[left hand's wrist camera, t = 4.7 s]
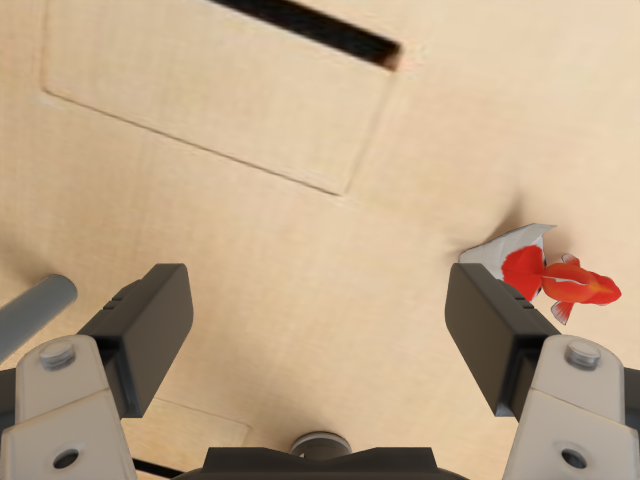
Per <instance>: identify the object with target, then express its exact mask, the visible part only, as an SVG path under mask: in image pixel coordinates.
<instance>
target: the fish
mask: <svg viewBox="0 0 640 480" xmlns="http://www.w3.org/2000/svg"><path fill="white" fill-rule="evenodd" d="M553 227H556V226H555V225H544V224H530V225H527V226H524V227H521V228H518V229H515V230H512V231H509V232H507V233H505V234H503V235H501V236H499V237H497V238H495V239H493V240H491V241H489V242H487V243H486V244H484V245H481V246H477V247H474V248H472V249H469V250H467V251H465V252H463V253H462V254H460V255H459V259H458V263H481V264H482V265H483V266H484V267H485V268H486V269H487V270H488V271H489V272H490V273H491V274H492V275H493V276H494V277H495V278H496V279H500V280H502V281H504V282H506V283H508V284H509V285H511V286H513V287H515V288H516V289H517V290H518V291H519V292H520V293H521V294H522V295H523V296H524V297H525V299H526V300H528V301H529V302H530V303H532V302H533V300H534V299H535V298H536V296H537V295H538V293H539V292H540V291H541V289H542V287H543V290H544V292H545V293H546V294H547V295H548V296H549V297H551V298H553V299H555V300H557V301H558V302H556V303H555V304H554V305H553V306H552V307H551V311H552V313H553V315H554V316H555V318H556V319H557V320H558V321H559V322H561V323H562V324H564V325H566V322H567V321H568V318H569V315H570V313H571V310H572V307H573V305H574V303H575V302H579V303H582V304H589V303H592V304H597V305H600V306H605V305H608V304H609V303H611V302H613V301H616V300H617V299H618V298H619V297H620V296H621V295H622V294H621V292H620V289H619V288H618V287H617V286H616V285H615V283H614V282H613V280H612V279H611V278H609V277H607V276H600V275H598V274H596V273H594V272H590V271H586V270H584V269H583V268H580V261H579V259H578V258H576V257H574V256H573V255H571V254H565V255H564V256H562V260H563V262H564V263H555V264H552V265H550V266H548V267H547V268H546V269H545V267H546V260H545V256H544V252H543V237H542V235H543V234H544V233H545V232H547V231H548V230H550V229H552V228H553Z"/></svg>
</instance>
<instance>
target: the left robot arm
mask: <svg viewBox="0 0 640 480" xmlns="http://www.w3.org/2000/svg"><path fill="white" fill-rule="evenodd" d="M445 321H446V326H447V328H448V330H449V332H450V334H451V336H452V338H453V340H454V342H455V343H456V345H457V347H458V349H459V351H460V353H461V354H462V356H463V358H464V360H465V362H466V364H467V366H468V367H469V369H470V371H471V373H472V375H473V377H474V378H475V380H476V382H477V384H478V386H479V388H480V390H481V391H482V393H483V395H484V397H485V399H486V401H487V403H488V404H489V406H490V408H491V410H492V412H493V414H494V415H495V417H515V418H516V419H517V421H518V423H519V425H518V428H517V431H516V435H515V438H514V441H513V445H512V448H511V451H510V455H509V458H508V461H507V465H506V468H505V471H504V474H503V478H502V480H640V370H635V369H630V368H625V367H623V364H622V362H621V361H620V360H619V358H618V357H617V356H616V355H615V354H613V353H612V352H611V351H609V350H608V349H606V348H605V347H603V346H601V345H599V344H597V343H595V342H593V341H590V340H587V339H584V338H581V337H577V336H572V335H562V334H561V333H560V332H559V331H558V330H557V329H556V328H555V327H554V326H553V325H552V324H551V323H550V322H549V321H548V320H547V319H546V318H545V317H544V316H543V315H542V314H541V313H540V312H539V311H538V310H537V309H534V306H533V305H532V304H531V303H530V302H529V301H528V300H526V299H525V297H524V296H523V295H522V294H521V293H520V292H519V291H518V290H517V289H516V288H515V287H513V286H511V285H509V284H508V283H506V282H504V281H502V280H500V279H496V278H495V277H494V276H493V275H492V274H491V273H490V272H489V271H488V270H487V269H486V268H485V267H484V266H483V265H482V264H481V263H454V264H453V265H452V268H451V271H450V278H449V284H448V291H447V298H446V304H445ZM192 322H193V305H192V298H191V291H190V285H189V278H188V272H187V268H186V266H185V265H184V264H156V265H155V266H154V267H153V268H152V269H151V270H150V271H149V272H148V273H147V274H146V275H145V276H144V277H143V278H142V279H141V280H137V281H135V282H133V283H131V284H129V285H128V286H126V287H124V288H122V289H121V290H120V291H119V292H118V293H117V294H116V295H115V296H114V297H113V298H112V301H109V302H108V303H107V304H106V305H105V306H104V307H103V310H100V311H99V312H98V313H97V314H96V315H95V316H94V317H93V318H92V319H91V320H90V321H89V322H88V323H87V324H86V325H85V326H84V327H83V328H82V329H81V330H80V331H79V332H78V333H77V334H76V335H68V336H63V337H59V338H56V339H53V340H50V341H47V342H45V343H43V344H41V345H39V346H37V347H35V348H34V349H32V350H31V351H29V352H28V353H27V354H25V355H24V356H23V357H22V358H21V360H20V361H19V362H18V364H17V367H16V368H13V369H8V370H3V371H0V480H138V478H137V474H136V471H135V468H134V465H133V461H132V458H131V455H130V451H129V448H128V445H127V441H126V438H125V435H124V432H123V428H122V425H121V422H120V420H121V419H122V418H142V417H143V415H144V413H145V412H146V410H147V408H148V406H149V404H150V402H151V401H152V399H153V397H154V395H155V393H156V391H157V390H158V388H159V386H160V384H161V382H162V381H163V379H164V377H165V375H166V373H167V371H168V370H169V368H170V366H171V364H172V362H173V360H174V359H175V357H176V355H177V353H178V351H179V349H180V348H181V346H182V344H183V342H184V340H185V338H186V337H187V335H188V333H189V331H190V329H191V326H192ZM171 480H469V479H467V478H465V477H463V476H461V475H459V474H456V473H454V472H451V471H448V470H445V469H442V468H438V467H437V465H436V462H435V458H434V455H433V452H432V449H431V447H376V448H372V449H368V450H364V451H360V452H356V453H352V450H351V447H350V446H349V444H348V443H347V442H346V441H345V440H344V439H342V438H341V437H339V436H337V435H334V434H331V433H324V432H318V433H311V434H308V435H305V436H303V437H301V438H299V439H298V440H297V441H296V442H295V443H294V444H293V445H292V447H291V449H290V454H288V453H284V452H280V451H276V450H272V449H268V448H264V447H209V449H208V452H207V455H206V458H205V462H204V465H203V467H202V468H198V469H195V470H192V471H189V472H186V473H184V474H181V475H179V476H177V477H175V478H173V479H171Z"/></svg>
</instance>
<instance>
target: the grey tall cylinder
mask: <svg viewBox="0 0 640 480" xmlns="http://www.w3.org/2000/svg"><path fill="white" fill-rule="evenodd" d="M76 298H77V290H76V288H75V286H74V284H73V283H72V282H71V281H70V280H68V279H67V278H65V277H63V276H60V275H49V276H46V277H45V278H43V279H42V280H40V281H39V282H37V283H36V284H34V285H33V286H31V287H30V288H28V289H27V290H25V291H24V292H23V293H21V294H20V295H18V296H17V297H15V298H14V299H12V300H11V301H9V302H8V303H6V304H5V305H3V306H2V307H0V364H2V363H3V362H4V361H5V360H6V359H8V358H9V357H10V356H11V355H12V354H13V353H15V352H16V351H17V350H18V349H19V348H20V347H22V346H23V345H24V344H25V343H26V342H28V341H29V340H30V339H31V338H32V337H33V336H35V335H36V334H37V333H38V332H39V331H40V330H42V329H43V328H44V327H45V326H46V325H47V324H49V323H50V322H51V321H52V320H53V319H55V318H56V317H57V316H58V315H59V314H60V313H62V312H63V311H64V310H65V309H66V308H67V307H69V306H70V305H71V304H72V303H73V302H74V301H75V300H76Z"/></svg>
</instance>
